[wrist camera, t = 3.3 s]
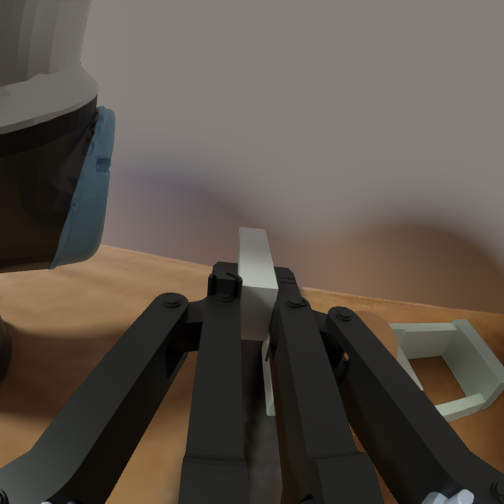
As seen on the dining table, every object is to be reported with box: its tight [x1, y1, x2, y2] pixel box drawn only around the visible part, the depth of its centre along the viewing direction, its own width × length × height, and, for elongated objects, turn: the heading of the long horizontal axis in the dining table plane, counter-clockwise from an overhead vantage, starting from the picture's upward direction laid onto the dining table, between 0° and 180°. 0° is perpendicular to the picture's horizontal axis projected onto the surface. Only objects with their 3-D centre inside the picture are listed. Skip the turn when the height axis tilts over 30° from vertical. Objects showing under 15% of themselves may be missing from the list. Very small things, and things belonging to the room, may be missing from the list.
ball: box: [344, 311, 398, 360], centre depth 22 cm, size 7×7×7 cm
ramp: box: [261, 319, 504, 422], centre depth 24 cm, size 28×12×5 cm, turn 92°
